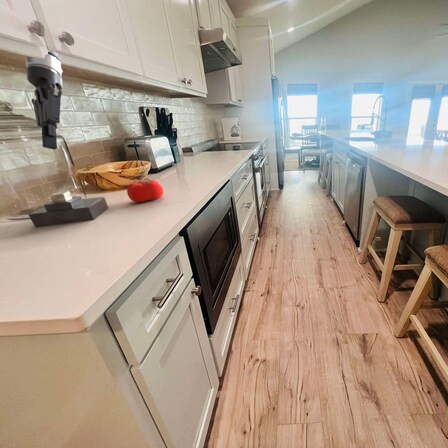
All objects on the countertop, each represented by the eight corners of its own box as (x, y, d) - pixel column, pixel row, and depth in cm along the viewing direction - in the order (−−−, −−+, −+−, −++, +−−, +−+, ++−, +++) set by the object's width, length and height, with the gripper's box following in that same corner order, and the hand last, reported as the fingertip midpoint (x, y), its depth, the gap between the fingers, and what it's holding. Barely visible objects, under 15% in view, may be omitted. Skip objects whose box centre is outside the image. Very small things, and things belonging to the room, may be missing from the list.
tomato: (167, 199, 86) (162, 181, 84) (131, 206, 80) (125, 187, 78) (162, 193, 94) (157, 177, 91) (129, 200, 88) (123, 182, 85)
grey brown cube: (53, 204, 68) (49, 195, 67) (60, 200, 71) (56, 192, 70) (67, 202, 69) (63, 194, 68) (73, 199, 71) (69, 191, 70)
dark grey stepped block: (35, 227, 67) (24, 207, 65) (58, 214, 77) (49, 196, 74) (94, 219, 71) (85, 200, 68) (108, 208, 80) (101, 190, 78)
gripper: (71, 72, 75) (76, 146, 74) (50, 86, 80) (55, 155, 80) (37, 57, 68) (43, 138, 67) (17, 73, 73) (22, 149, 73)
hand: (50, 147), depth 74 cm, fingers closed
